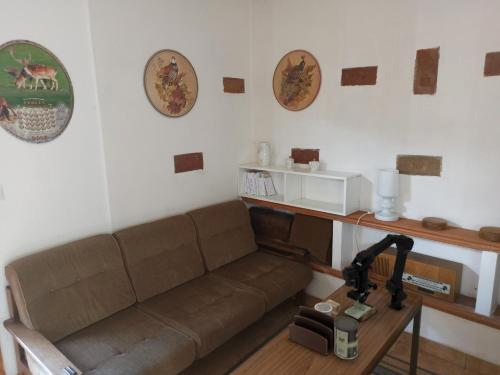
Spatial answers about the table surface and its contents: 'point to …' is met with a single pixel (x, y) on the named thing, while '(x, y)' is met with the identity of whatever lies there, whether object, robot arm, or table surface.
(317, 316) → the letter holder
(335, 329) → the coffee can
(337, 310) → the block
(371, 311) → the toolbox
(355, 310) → the lid
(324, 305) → the dixie cup
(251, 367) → the table surface
